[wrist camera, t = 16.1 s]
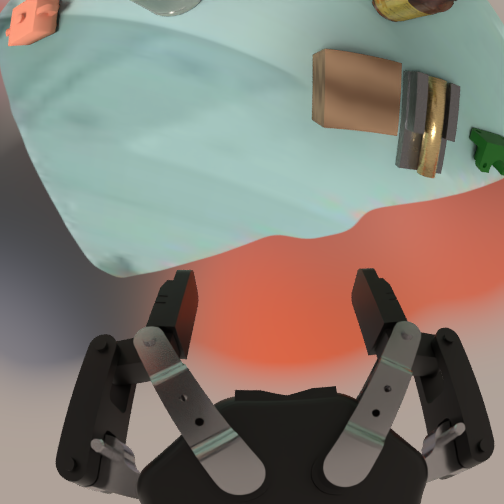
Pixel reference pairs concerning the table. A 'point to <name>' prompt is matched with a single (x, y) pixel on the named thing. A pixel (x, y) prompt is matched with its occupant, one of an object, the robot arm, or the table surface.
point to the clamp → (488, 150)
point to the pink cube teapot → (32, 21)
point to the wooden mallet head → (356, 92)
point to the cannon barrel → (432, 127)
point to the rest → (423, 119)
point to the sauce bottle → (410, 8)
